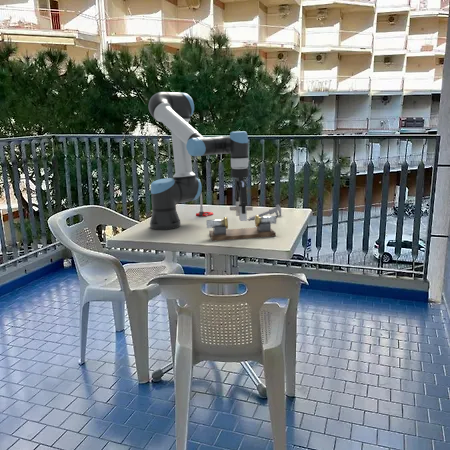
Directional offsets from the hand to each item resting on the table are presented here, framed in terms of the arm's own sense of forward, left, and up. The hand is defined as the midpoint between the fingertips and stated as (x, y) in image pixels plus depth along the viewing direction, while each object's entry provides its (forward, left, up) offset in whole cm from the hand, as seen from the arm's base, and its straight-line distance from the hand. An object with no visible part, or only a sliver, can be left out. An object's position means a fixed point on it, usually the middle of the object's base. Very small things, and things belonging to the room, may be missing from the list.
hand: (241, 218), depth 188 cm
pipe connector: (0, 0, -1) cm, 1 cm away
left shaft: (-11, 0, -6) cm, 13 cm away
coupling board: (0, 0, -8) cm, 8 cm away
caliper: (+18, +32, -8) cm, 37 cm away
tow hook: (-12, +49, -8) cm, 51 cm away
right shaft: (+11, 0, -6) cm, 13 cm away
